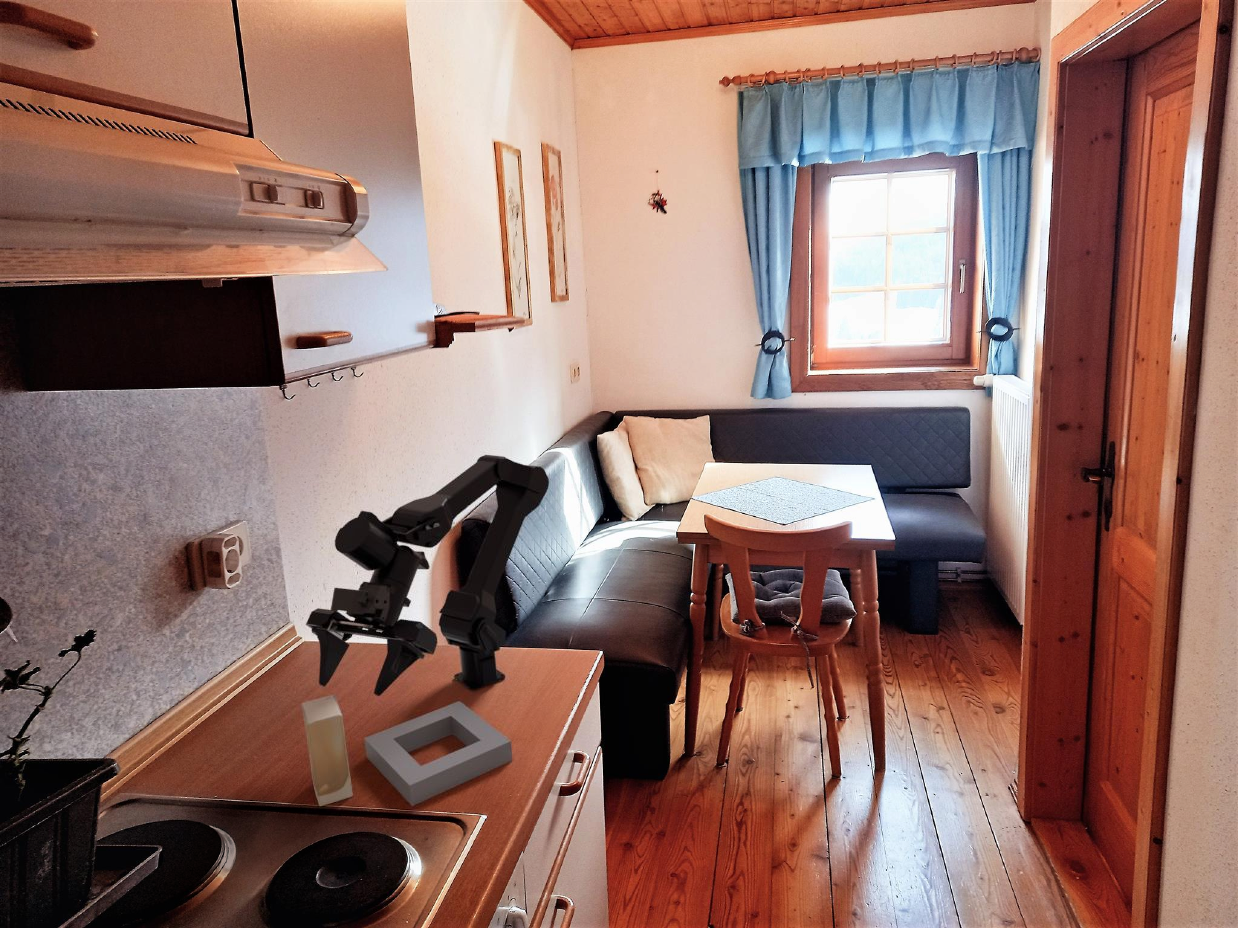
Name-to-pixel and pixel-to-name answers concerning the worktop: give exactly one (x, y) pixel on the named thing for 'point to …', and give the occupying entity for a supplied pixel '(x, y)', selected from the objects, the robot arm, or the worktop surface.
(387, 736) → the plate
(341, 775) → the skincare box
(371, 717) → the worktop surface
